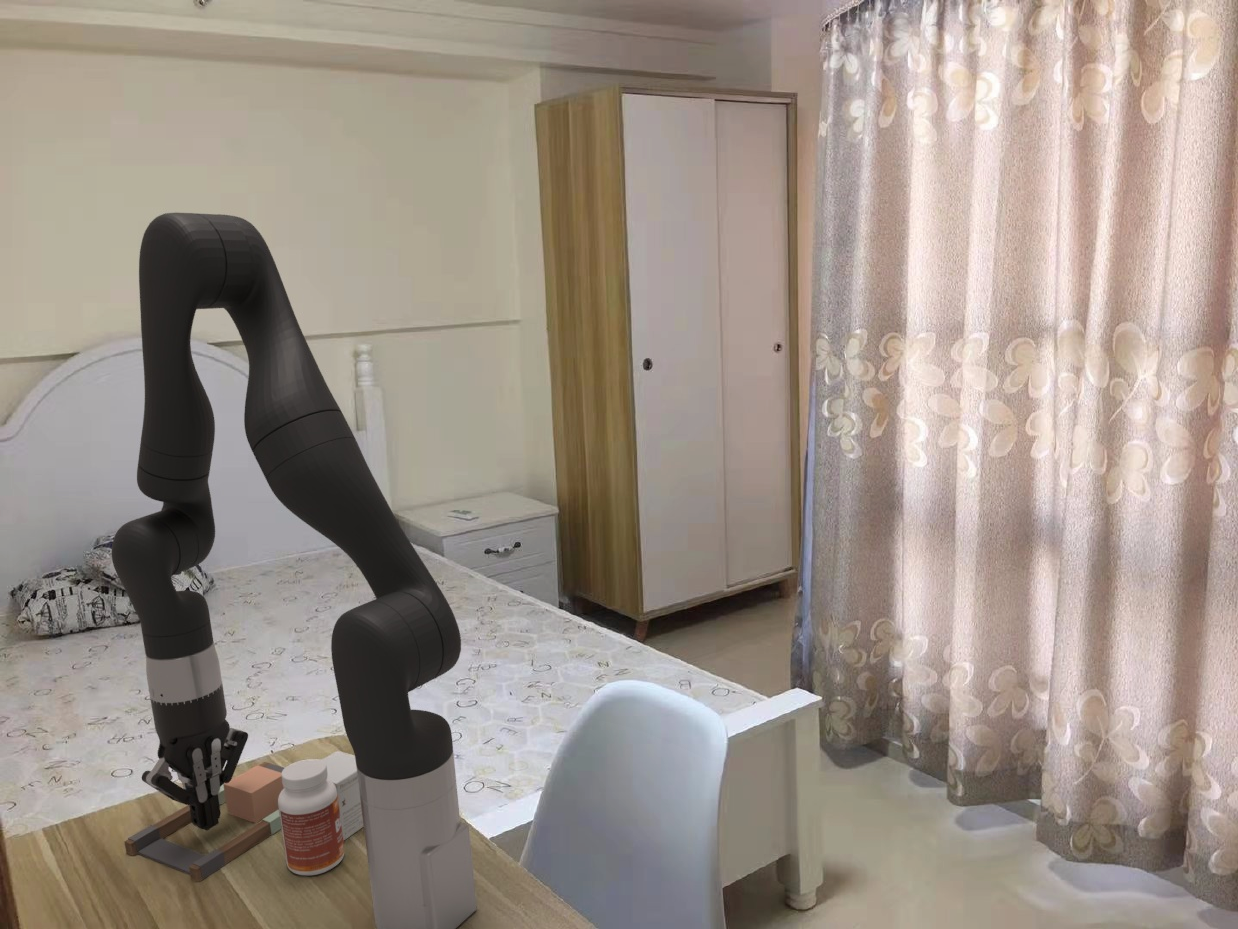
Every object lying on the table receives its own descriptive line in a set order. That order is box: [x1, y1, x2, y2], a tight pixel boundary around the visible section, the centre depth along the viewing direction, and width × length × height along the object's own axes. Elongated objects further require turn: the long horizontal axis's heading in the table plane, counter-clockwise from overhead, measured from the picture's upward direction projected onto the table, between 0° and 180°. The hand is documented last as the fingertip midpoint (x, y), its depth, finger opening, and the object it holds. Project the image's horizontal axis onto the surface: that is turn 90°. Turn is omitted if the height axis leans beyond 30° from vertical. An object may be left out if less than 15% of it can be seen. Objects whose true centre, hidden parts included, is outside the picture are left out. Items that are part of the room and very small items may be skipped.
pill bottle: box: [278, 758, 345, 876], centre depth 114 cm, size 6×6×11 cm
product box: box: [320, 750, 364, 841], centre depth 122 cm, size 6×6×7 cm
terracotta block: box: [223, 764, 284, 824], centre depth 126 cm, size 5×5×4 cm
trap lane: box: [124, 761, 285, 883], centre depth 124 cm, size 12×20×2 cm, turn 149°
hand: (207, 825), depth 121 cm, fingers closed
